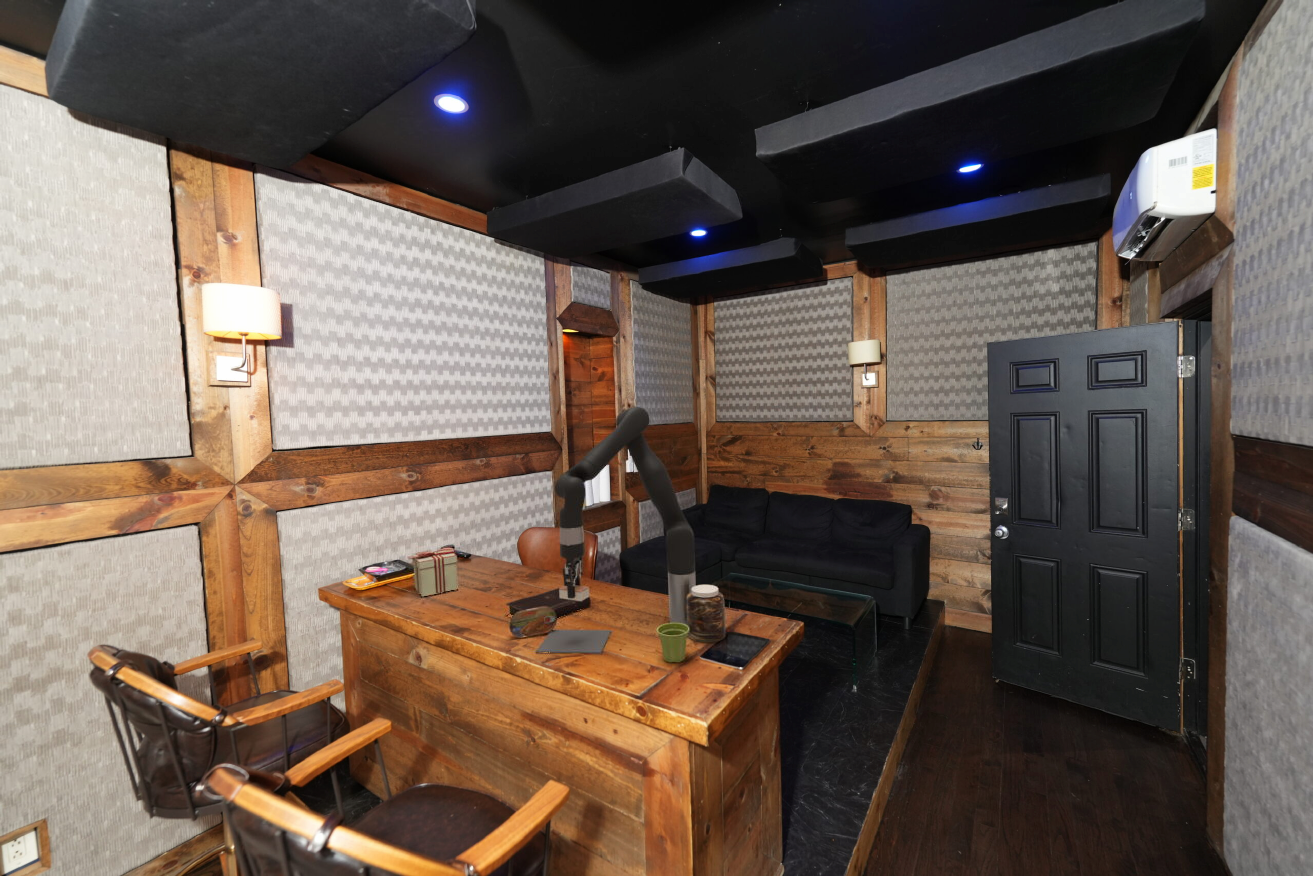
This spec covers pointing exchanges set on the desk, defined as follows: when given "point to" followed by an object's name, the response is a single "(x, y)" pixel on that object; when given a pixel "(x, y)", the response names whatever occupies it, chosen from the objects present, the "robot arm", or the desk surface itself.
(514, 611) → the diary
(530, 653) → the desk surface
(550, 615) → the tin
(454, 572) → the gift box
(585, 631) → the mat
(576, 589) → the block
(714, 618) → the jar
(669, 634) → the plant pot
